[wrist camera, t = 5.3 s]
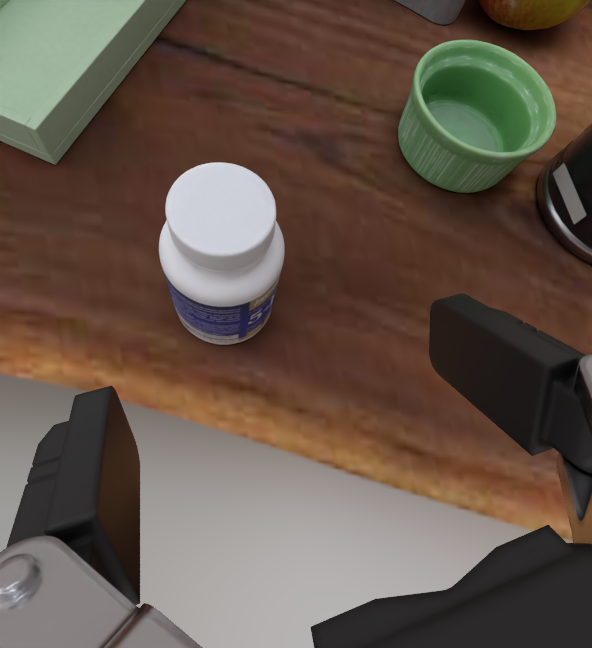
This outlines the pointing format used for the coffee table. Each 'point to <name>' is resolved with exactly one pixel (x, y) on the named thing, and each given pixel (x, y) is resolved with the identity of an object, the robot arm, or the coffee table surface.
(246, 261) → the pill bottle
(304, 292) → the coffee table surface
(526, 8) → the fruit
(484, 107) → the ramekin
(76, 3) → the tray
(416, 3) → the hip flask
